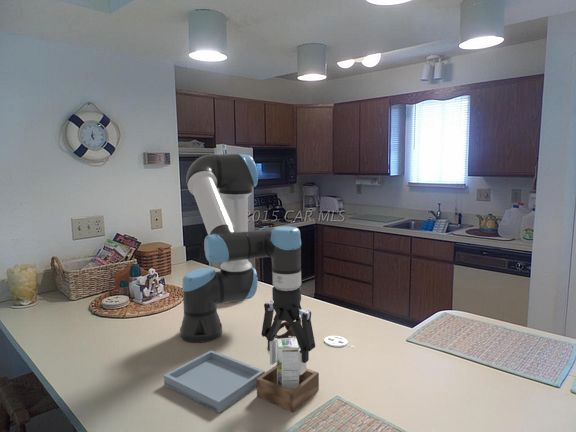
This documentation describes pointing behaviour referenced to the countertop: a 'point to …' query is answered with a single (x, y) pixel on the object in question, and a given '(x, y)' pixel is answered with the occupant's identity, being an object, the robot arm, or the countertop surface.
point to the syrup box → (287, 363)
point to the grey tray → (213, 380)
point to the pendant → (336, 341)
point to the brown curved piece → (288, 333)
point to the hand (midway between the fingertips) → (287, 367)
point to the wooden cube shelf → (285, 396)
